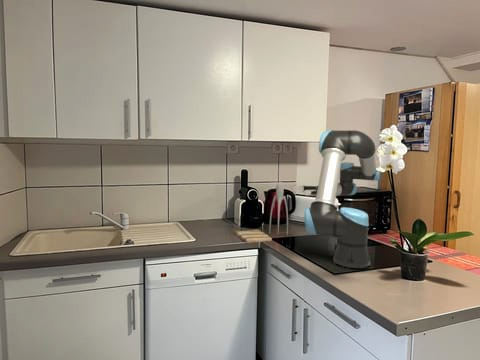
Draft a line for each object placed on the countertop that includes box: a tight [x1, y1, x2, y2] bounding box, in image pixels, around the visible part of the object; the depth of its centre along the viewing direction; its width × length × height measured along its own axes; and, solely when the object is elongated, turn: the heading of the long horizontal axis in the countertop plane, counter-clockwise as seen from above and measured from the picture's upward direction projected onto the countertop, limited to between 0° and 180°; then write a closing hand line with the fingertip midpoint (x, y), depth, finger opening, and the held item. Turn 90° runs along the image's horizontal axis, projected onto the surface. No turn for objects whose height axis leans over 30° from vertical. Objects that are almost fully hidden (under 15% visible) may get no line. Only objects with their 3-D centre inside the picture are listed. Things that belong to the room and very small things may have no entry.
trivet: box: [234, 229, 273, 244], centre depth 188 cm, size 18×14×2 cm
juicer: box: [268, 181, 289, 236], centre depth 192 cm, size 10×9×30 cm
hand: (299, 190), depth 196 cm, fingers open, 13 cm apart
